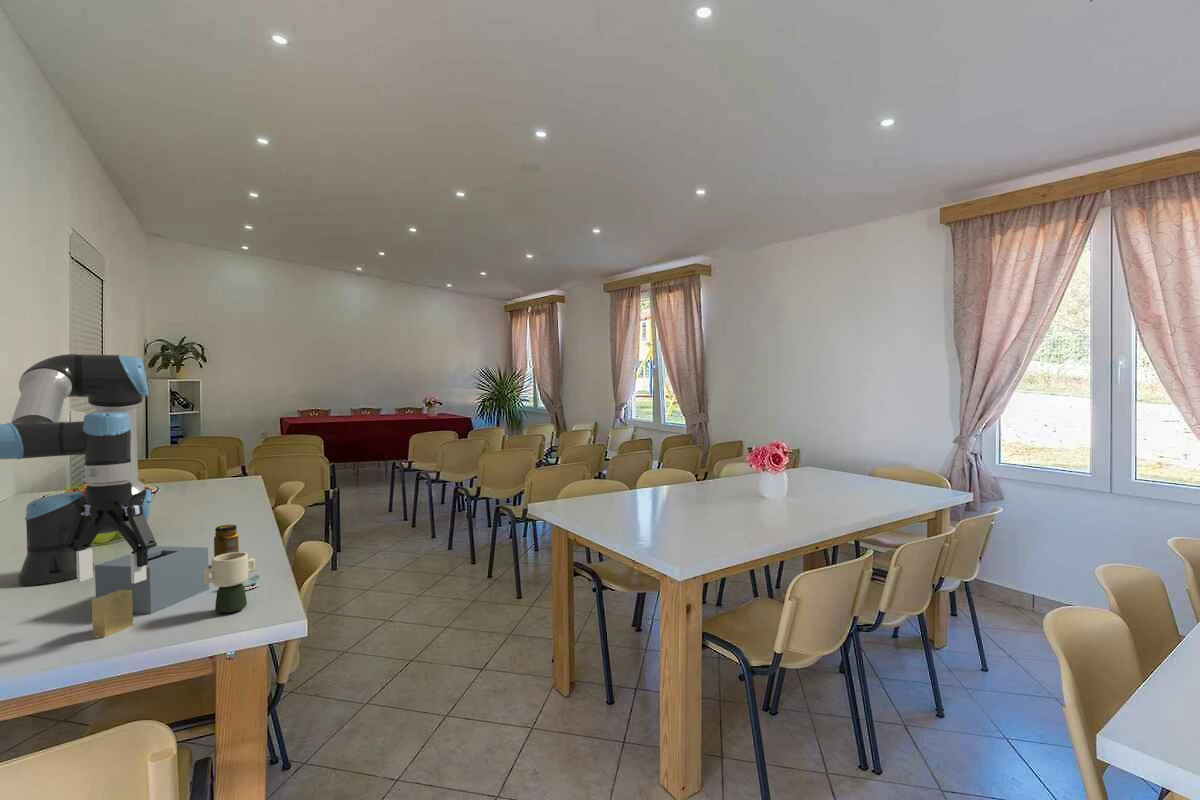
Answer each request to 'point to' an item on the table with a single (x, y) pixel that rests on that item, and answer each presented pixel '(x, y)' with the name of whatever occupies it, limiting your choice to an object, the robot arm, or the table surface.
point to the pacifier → (251, 582)
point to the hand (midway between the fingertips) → (111, 580)
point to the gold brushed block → (112, 613)
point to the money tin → (156, 577)
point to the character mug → (230, 580)
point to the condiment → (225, 540)
